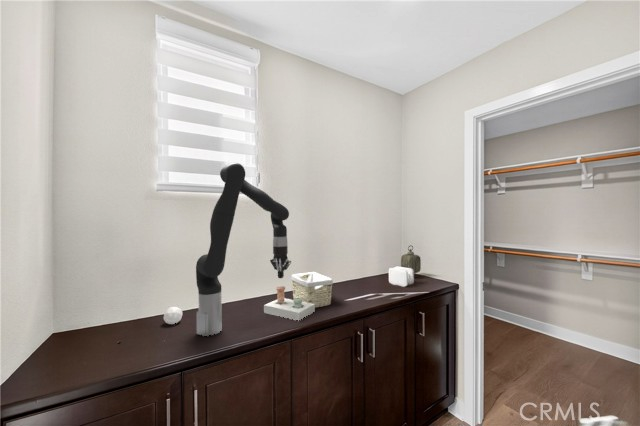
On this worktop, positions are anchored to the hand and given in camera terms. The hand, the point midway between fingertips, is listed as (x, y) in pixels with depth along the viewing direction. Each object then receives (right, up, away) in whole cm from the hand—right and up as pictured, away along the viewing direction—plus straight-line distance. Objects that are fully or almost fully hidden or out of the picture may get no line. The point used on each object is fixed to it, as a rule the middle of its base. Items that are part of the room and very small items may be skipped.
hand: (280, 277), depth 141 cm
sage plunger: (+10, -16, -6) cm, 20 cm away
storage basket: (+16, -17, +14) cm, 27 cm away
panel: (+5, -17, -3) cm, 18 cm away
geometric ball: (-48, -18, -15) cm, 54 cm away
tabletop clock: (+92, -17, +68) cm, 116 cm away
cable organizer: (+78, -17, +49) cm, 93 cm away
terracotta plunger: (0, -12, 0) cm, 12 cm away
